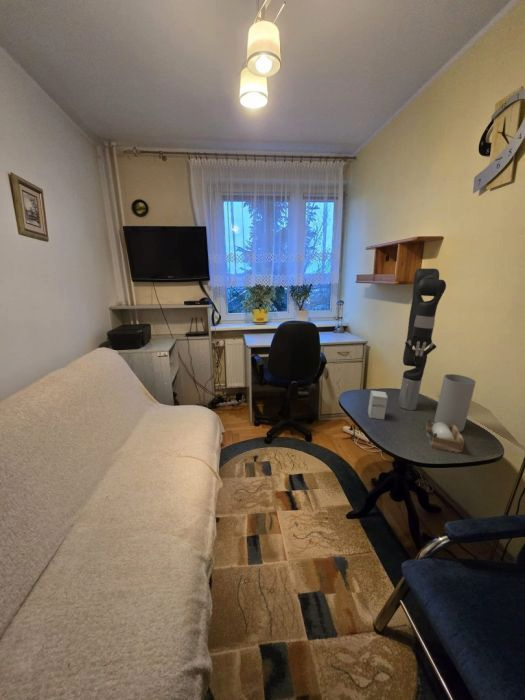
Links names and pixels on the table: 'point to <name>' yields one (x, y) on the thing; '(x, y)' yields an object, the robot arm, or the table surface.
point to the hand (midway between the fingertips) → (416, 363)
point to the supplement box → (377, 404)
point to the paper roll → (442, 431)
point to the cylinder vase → (454, 400)
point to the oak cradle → (445, 443)
